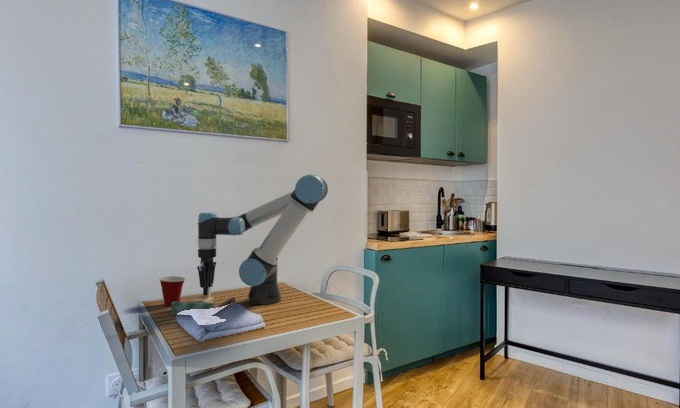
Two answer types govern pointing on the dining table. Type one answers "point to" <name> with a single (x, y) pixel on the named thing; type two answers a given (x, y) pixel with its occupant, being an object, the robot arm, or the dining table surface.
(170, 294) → the plastic cup
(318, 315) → the dining table surface
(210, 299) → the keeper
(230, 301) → the guide track
